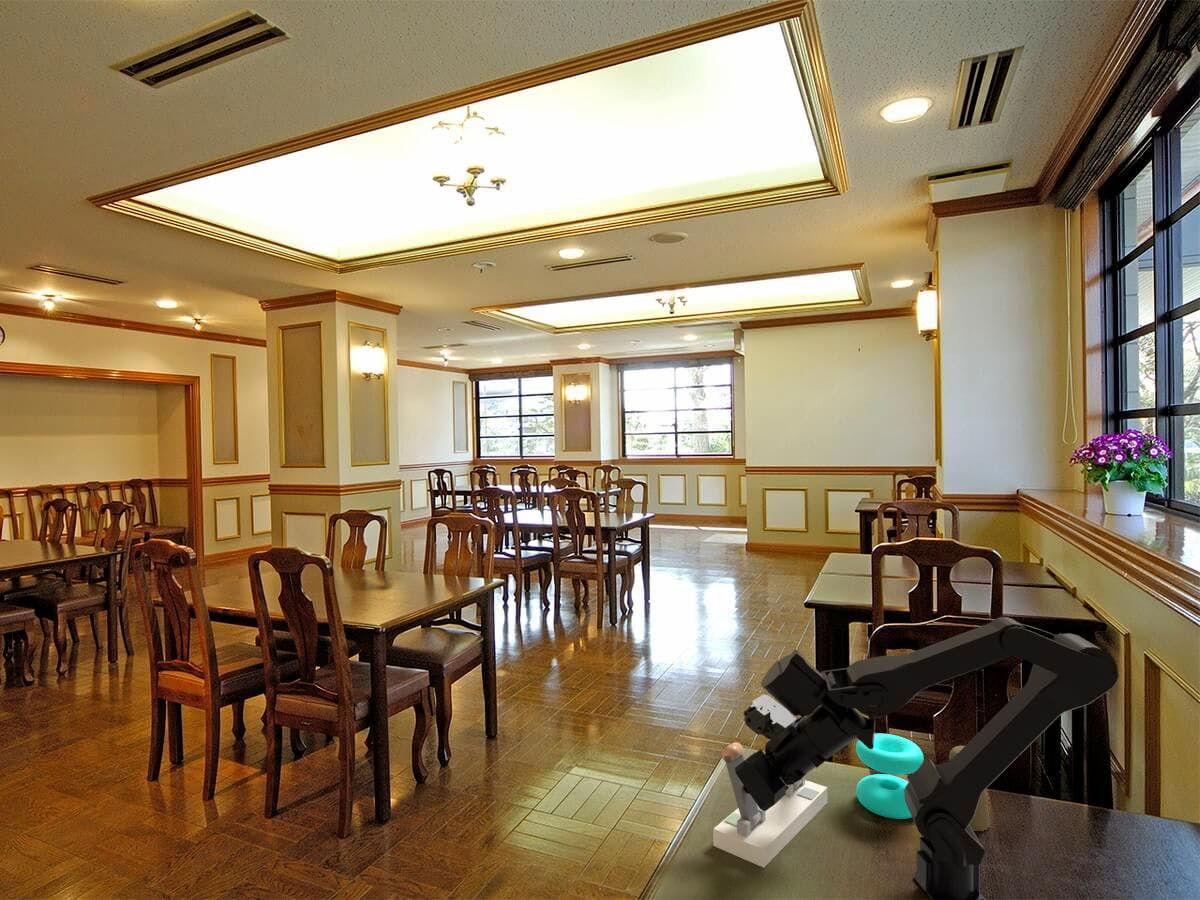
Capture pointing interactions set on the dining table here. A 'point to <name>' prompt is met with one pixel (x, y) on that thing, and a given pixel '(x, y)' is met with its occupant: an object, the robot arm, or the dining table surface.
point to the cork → (982, 813)
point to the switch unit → (771, 824)
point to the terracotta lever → (740, 784)
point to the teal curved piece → (882, 789)
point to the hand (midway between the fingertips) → (745, 789)
